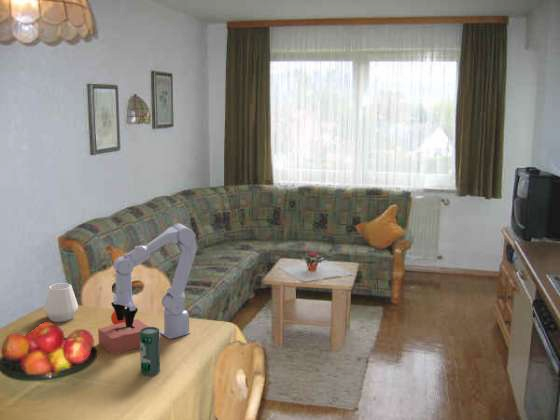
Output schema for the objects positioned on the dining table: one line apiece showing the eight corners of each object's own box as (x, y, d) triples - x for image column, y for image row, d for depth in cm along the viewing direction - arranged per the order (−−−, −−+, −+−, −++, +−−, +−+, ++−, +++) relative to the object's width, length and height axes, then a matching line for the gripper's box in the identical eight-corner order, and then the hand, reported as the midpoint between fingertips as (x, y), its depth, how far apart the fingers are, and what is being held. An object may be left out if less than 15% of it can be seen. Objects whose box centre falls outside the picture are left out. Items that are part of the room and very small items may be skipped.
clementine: (134, 325, 232) (133, 309, 231) (121, 330, 226) (120, 314, 225) (120, 321, 236) (120, 304, 235) (107, 326, 231) (107, 309, 229)
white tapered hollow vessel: (71, 324, 232) (70, 291, 229) (39, 323, 232) (37, 290, 229) (83, 312, 245) (81, 281, 242) (52, 311, 245) (50, 280, 242)
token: (130, 339, 217) (130, 327, 216) (132, 341, 215) (132, 329, 214) (117, 342, 214) (117, 330, 213) (119, 344, 212) (119, 332, 211)
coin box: (137, 333, 224) (137, 319, 223) (152, 343, 215) (151, 328, 214) (98, 343, 214) (98, 328, 213) (112, 354, 205) (111, 339, 204)
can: (139, 369, 195) (138, 328, 192) (157, 366, 197) (156, 325, 194) (143, 377, 189) (142, 335, 186) (161, 374, 192) (160, 332, 189)
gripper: (105, 285, 214) (106, 319, 216) (122, 296, 203) (123, 331, 205) (123, 282, 218) (124, 315, 221) (140, 292, 207) (141, 327, 210)
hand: (124, 323), depth 213 cm, fingers open, 7 cm apart
